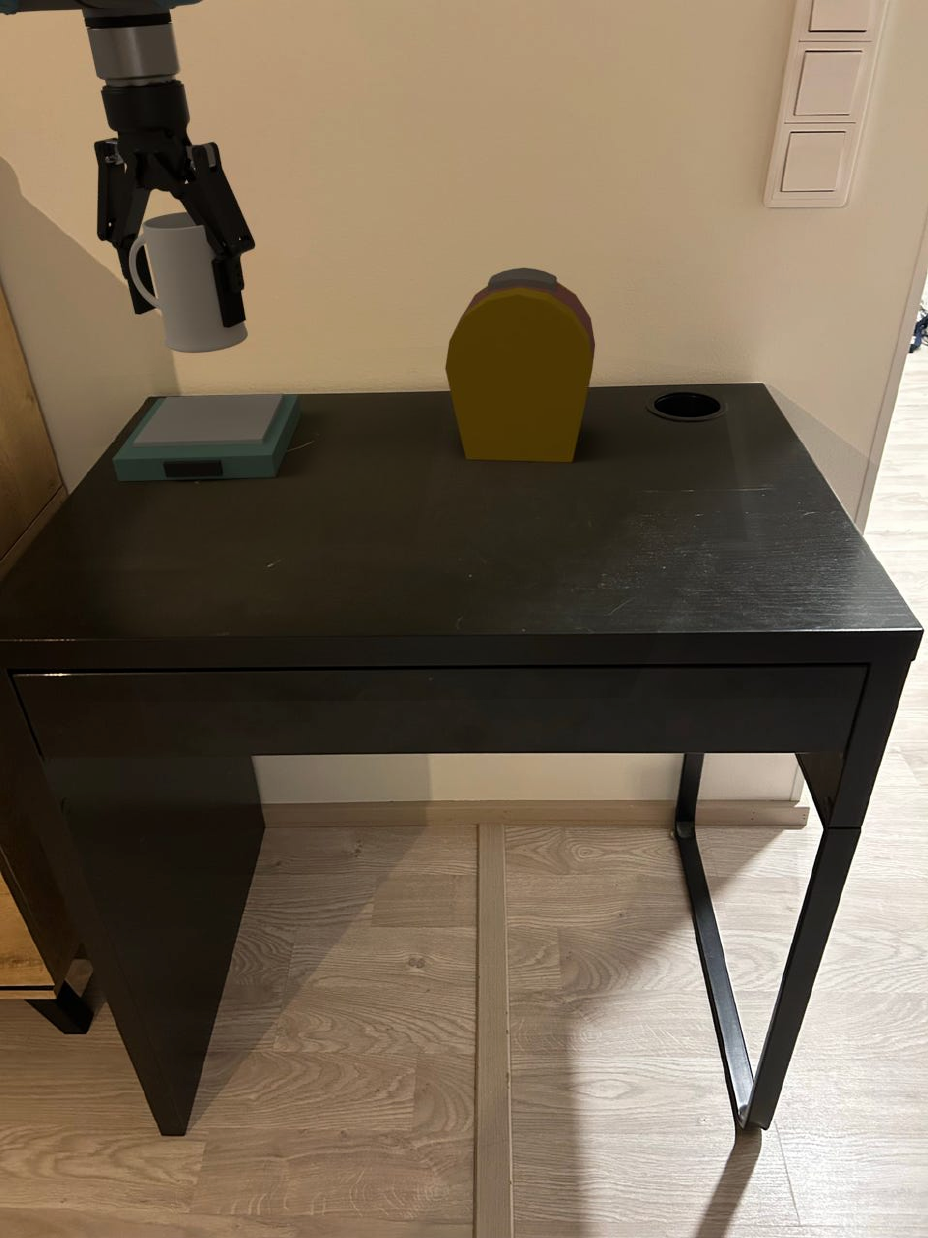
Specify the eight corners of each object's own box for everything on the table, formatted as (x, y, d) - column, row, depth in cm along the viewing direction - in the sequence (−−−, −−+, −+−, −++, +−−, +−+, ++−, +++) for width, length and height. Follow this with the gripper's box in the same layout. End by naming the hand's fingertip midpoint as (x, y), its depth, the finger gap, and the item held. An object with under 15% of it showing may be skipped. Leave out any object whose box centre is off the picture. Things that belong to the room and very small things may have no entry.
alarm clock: (592, 431, 108) (598, 262, 97) (588, 462, 101) (595, 285, 91) (461, 428, 110) (454, 263, 99) (450, 458, 103) (440, 285, 93)
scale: (116, 484, 101) (108, 456, 100) (163, 418, 116) (157, 393, 114) (274, 479, 101) (269, 451, 99) (301, 414, 115) (298, 388, 113)
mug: (124, 345, 100) (94, 225, 94) (175, 321, 107) (151, 206, 100) (216, 357, 96) (191, 231, 89) (263, 331, 103) (244, 212, 96)
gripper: (269, 76, 86) (302, 319, 98) (79, 74, 95) (132, 295, 108) (213, 86, 80) (256, 341, 93) (19, 83, 90) (81, 314, 102)
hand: (189, 317), depth 100 cm, fingers closed on mug, 11 cm apart
